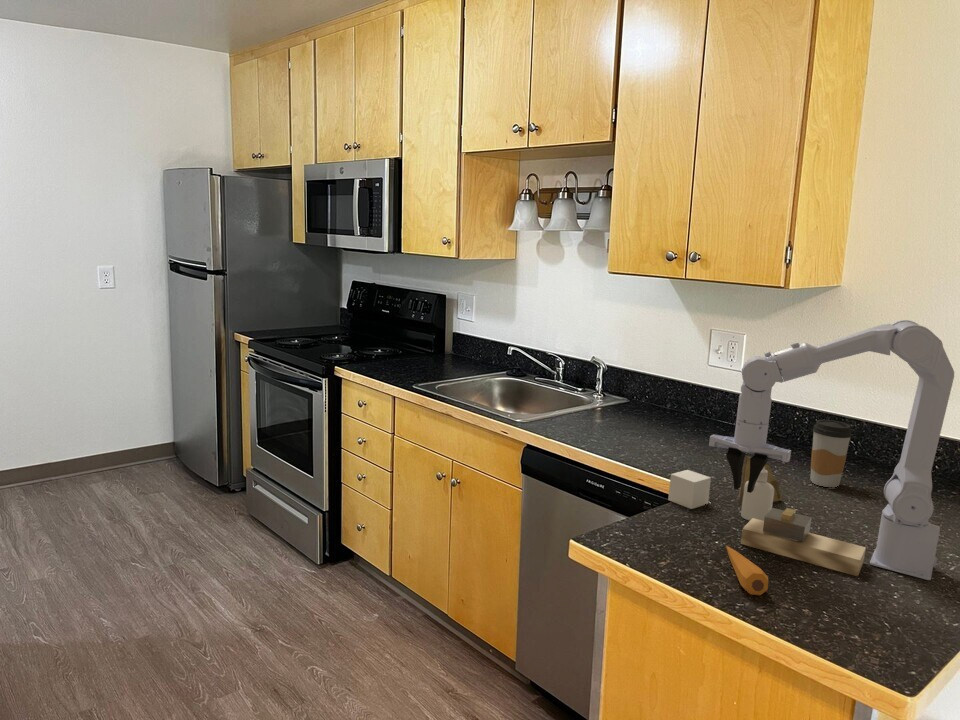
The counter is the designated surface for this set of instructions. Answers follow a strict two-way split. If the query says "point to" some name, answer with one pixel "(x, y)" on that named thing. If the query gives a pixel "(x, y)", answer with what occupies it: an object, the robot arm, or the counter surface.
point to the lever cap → (787, 524)
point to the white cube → (689, 489)
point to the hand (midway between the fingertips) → (743, 489)
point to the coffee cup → (829, 452)
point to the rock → (770, 480)
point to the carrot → (748, 573)
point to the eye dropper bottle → (758, 498)
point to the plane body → (807, 548)
